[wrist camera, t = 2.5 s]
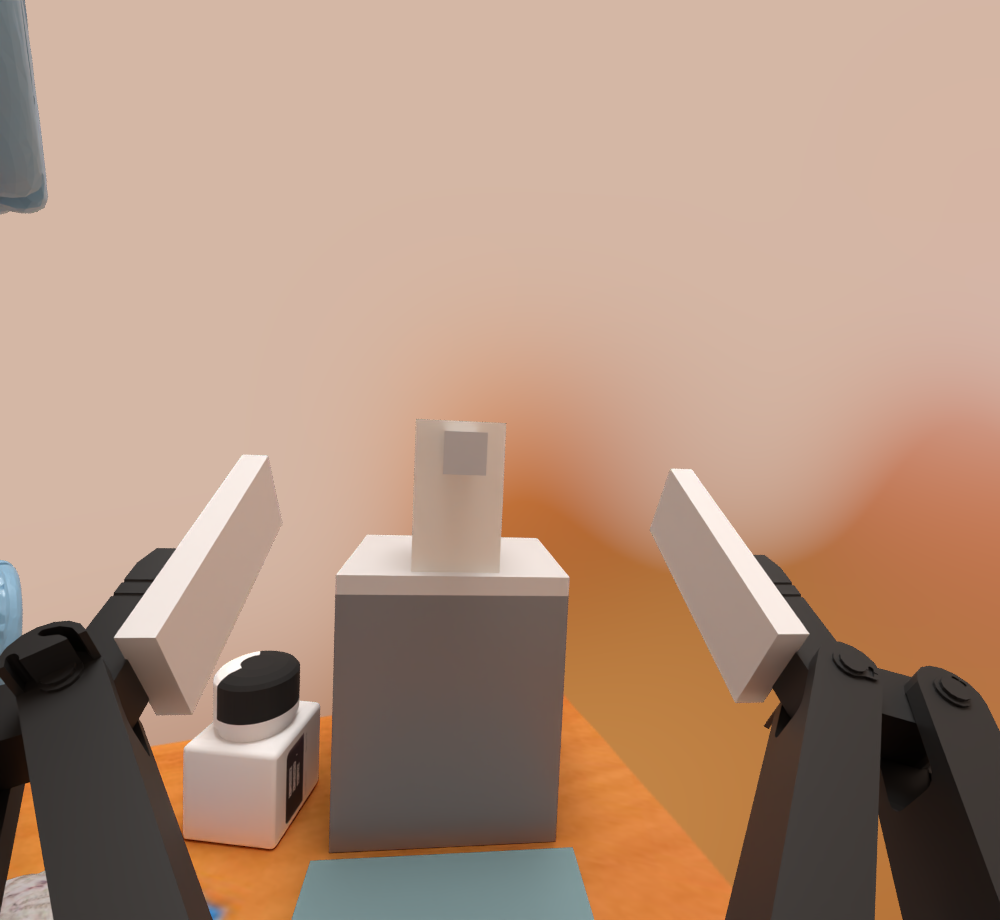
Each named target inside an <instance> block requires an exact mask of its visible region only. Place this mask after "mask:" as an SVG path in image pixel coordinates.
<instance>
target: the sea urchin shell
mask: <svg viewBox="0 0 1000 920" xmlns="http://www.w3.org/2000/svg"><path fill="white" fill-rule="evenodd" d="M0 920H53V914H52V909H51V903H50V897H49V891H48V885H47V879H46V873H45V871H43V872H41V873H39V874H29V875H23V876H20V877H16V878H13V879H10V880H7V881H6V885H5V891H4V896H3V901H2V906H1V911H0Z"/></svg>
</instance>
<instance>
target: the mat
mask: <svg viewBox="0 0 1000 920" xmlns="http://www.w3.org/2000/svg"><path fill="white" fill-rule="evenodd" d="M292 920H594V917H593V914H592V911H591V907H590V904H589V901H588V897H587V894H586V891H585V887H584V884H583V880H582V877H581V874H580V870H579V867H578V864H577V860H576V857H575V854H574V850H573V847H569V848H550V849H530V850H511V851H492V852H472V853H453V854H433V855H414V856H394V857H375V858H355V859H336V860H317V861H310V864H309V867H308V870H307V873H306V876H305V879H304V882H303V885H302V888H301V892H300V895H299V898H298V901H297V904H296V907H295V910H294V913H293V916H292Z"/></svg>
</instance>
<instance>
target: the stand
mask: <svg viewBox="0 0 1000 920" xmlns="http://www.w3.org/2000/svg"><path fill="white" fill-rule="evenodd" d="M411 557H412V536H399V535H398V536H397V535H367V536H366V537H365V538H364V540H363V541H362V542H361V544H360V545H359V546H358V547H357V549H356V550H355V551H354V552H353V554H352V555H351V556H350V558H349V559H348V560H347V561H346V563H345V564H344V565H343V567H342V568H341V569H340V570H339V572H338V573H337V574H336V594H335V632H334V673H333V676H334V677H333V712H332V752H331V792H330V832H329V853H334V852H354V851H374V850H394V849H414V848H434V847H454V846H474V845H494V844H514V843H534V842H554V841H556V823H557V804H558V785H559V766H560V747H561V729H562V710H563V691H564V672H565V670H564V669H565V651H566V633H567V615H568V596H569V576H568V575H567V574H566V573H565V572H564V570H563V569H562V568H561V567H560V566H559V564H558V563H557V562H556V561H555V560H554V558H553V557H552V556H551V554H550V553H549V552H548V551H547V550H546V548H545V547H544V546H543V545H542V544H541V542H540V541H539V540H538V539H537V538H501V548H500V571H499V573H456V572H411Z"/></svg>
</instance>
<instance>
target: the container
mask: <svg viewBox="0 0 1000 920" xmlns="http://www.w3.org/2000/svg"><path fill="white" fill-rule="evenodd" d="M299 687H300V663H299V661H298V660H297V659H296V658H295V657H294V656H293V655H291V654H288V653H285V652H278V651H259V652H253V653H249V654H246V655H243V656H240V657H238V658H236V659H233V660H231V661H230V662H228V663H226V664H225V665H223V666H222V667H221V668H220V669H219V671H218V672H217V673H216V674H215V676H214V683H213V722H212V723H211V724H210V725H209V726H208V727H207V728H205V730H203V731H202V732H201V733H200V734H199V735H198V736H196V737H195V738H194V739H193V740H192V741H191V742H189V743H188V744H187V745H186V746H185V747H184V766H183V836H184V838H185V839H192V840H200V841H208V842H216V843H225V844H233V845H241V846H249V847H258V848H266V849H273V848H274V847H275V846H276V845H277V844H278V842H279V841H280V839H281V838H282V836H283V834H284V833H285V831H286V830H287V828H288V827H289V825H290V824H291V822H292V820H293V819H294V817H295V816H296V814H297V813H298V811H299V810H300V808H301V807H302V805H303V803H304V802H305V800H306V799H307V797H308V796H309V794H310V793H311V791H312V789H313V788H314V786H315V785H316V783H317V781H318V774H319V732H320V705H319V703H317V702H308V701H299Z"/></svg>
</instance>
